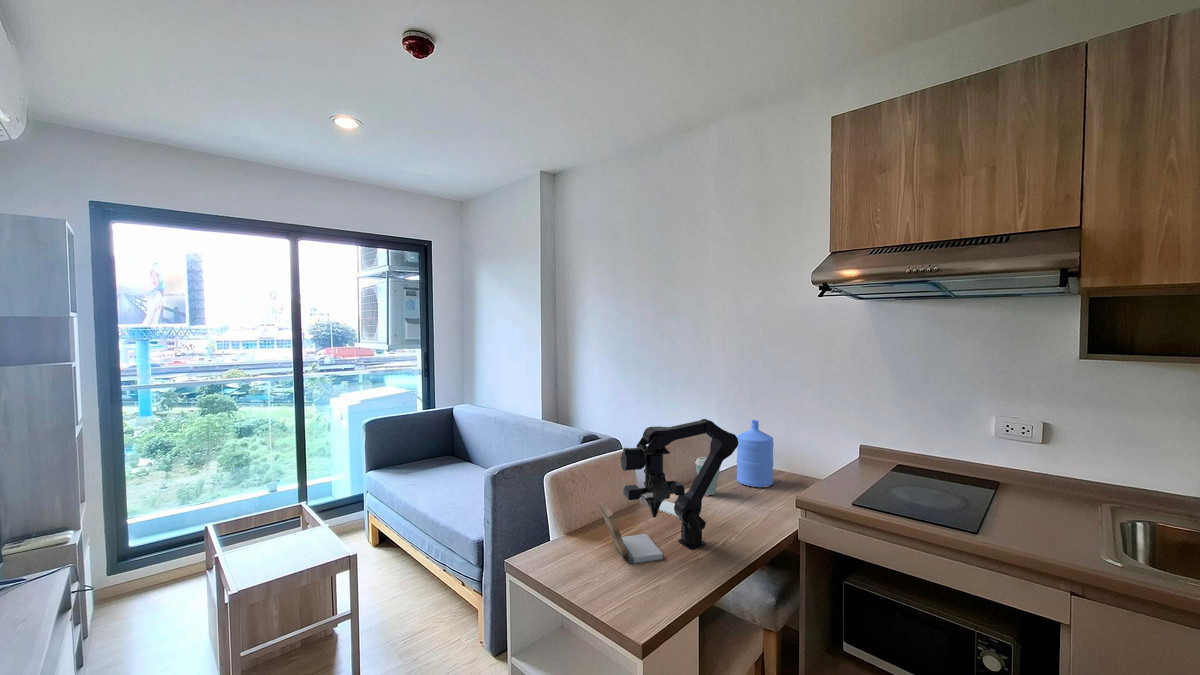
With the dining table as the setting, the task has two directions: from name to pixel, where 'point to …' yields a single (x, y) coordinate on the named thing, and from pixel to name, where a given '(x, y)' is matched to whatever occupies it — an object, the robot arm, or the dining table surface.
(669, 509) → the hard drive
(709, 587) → the dining table surface
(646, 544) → the base board
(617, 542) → the plank
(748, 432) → the water jug
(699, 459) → the disposable coffee cup
